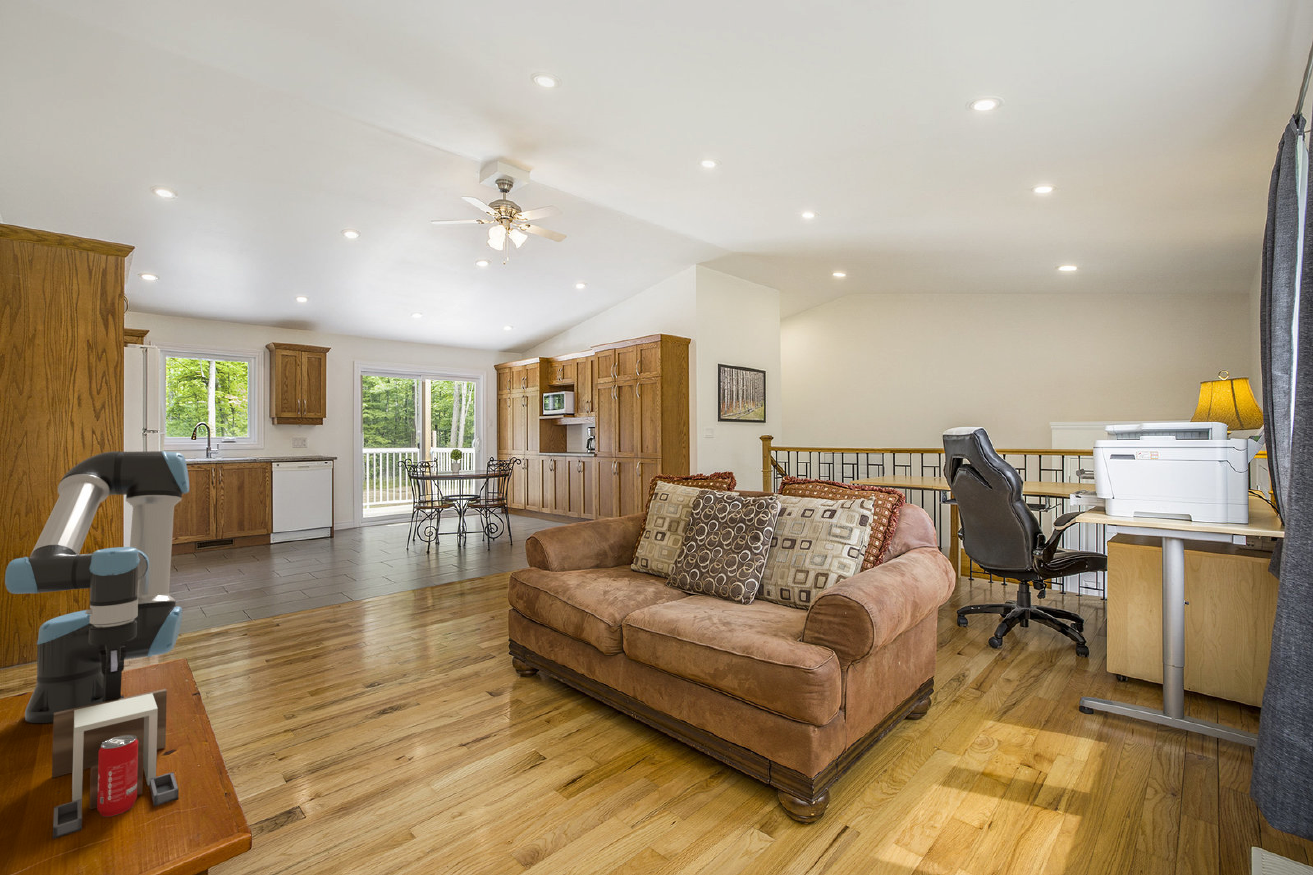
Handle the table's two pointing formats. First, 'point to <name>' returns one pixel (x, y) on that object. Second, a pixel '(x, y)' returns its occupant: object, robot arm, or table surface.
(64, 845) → the table surface
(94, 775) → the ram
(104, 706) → the tunnel
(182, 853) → the table surface
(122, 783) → the beverage can
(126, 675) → the table surface
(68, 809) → the pit
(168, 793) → the pit
